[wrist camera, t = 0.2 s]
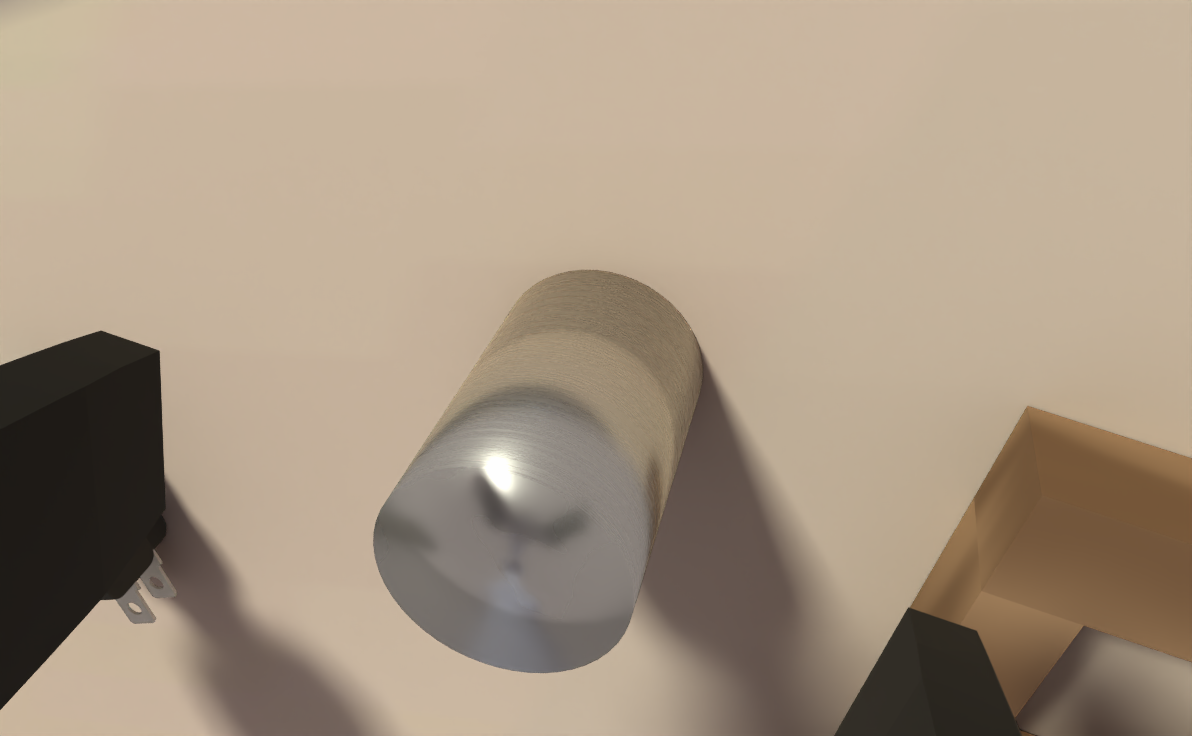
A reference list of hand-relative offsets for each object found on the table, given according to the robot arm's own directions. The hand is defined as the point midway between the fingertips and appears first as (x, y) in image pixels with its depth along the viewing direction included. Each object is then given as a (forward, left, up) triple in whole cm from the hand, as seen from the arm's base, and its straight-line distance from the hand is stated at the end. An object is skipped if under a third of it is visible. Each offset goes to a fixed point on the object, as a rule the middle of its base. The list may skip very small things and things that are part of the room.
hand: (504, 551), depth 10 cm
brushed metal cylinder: (-4, +1, -10) cm, 10 cm away
